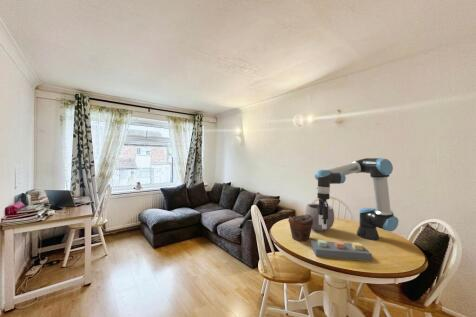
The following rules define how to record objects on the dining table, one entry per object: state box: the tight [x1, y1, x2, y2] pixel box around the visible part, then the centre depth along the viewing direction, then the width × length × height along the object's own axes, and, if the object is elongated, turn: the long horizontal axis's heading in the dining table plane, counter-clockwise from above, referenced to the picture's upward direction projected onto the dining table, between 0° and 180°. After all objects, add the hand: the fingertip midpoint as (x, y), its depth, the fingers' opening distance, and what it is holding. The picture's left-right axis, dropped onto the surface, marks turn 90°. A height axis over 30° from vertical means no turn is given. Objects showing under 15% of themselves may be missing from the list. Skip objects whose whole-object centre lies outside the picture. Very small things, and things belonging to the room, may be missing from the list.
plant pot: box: [304, 203, 335, 232], centre depth 178 cm, size 24×24×30 cm
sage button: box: [317, 239, 328, 247], centre depth 136 cm, size 5×5×4 cm
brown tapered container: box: [287, 214, 313, 242], centre depth 158 cm, size 18×20×18 cm
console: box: [310, 240, 373, 262], centre depth 134 cm, size 33×14×4 cm, turn 82°
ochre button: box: [351, 241, 364, 250], centre depth 133 cm, size 5×5×4 cm
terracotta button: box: [333, 240, 345, 249], centre depth 134 cm, size 5×5×4 cm
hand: (322, 226), depth 136 cm, fingers open, 8 cm apart
